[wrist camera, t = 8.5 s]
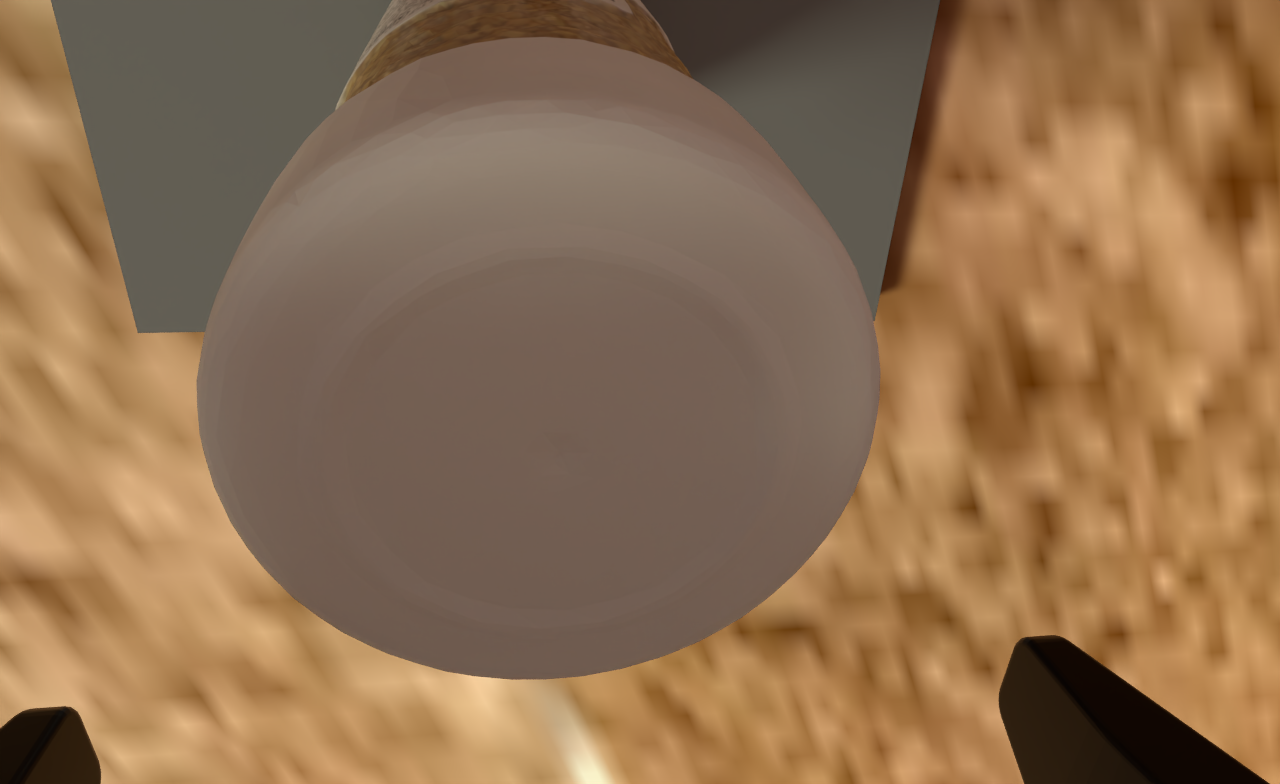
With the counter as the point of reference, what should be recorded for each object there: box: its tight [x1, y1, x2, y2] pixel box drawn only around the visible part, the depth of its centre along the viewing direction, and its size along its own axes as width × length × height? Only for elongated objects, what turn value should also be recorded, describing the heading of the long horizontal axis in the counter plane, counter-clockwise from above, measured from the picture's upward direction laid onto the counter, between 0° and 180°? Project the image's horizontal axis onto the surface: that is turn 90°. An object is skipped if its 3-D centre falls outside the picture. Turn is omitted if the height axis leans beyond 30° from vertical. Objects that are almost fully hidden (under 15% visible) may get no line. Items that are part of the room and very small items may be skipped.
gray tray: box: [51, 0, 940, 333], centre depth 18 cm, size 16×12×1 cm
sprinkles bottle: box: [197, 0, 880, 679], centre depth 12 cm, size 5×5×14 cm
